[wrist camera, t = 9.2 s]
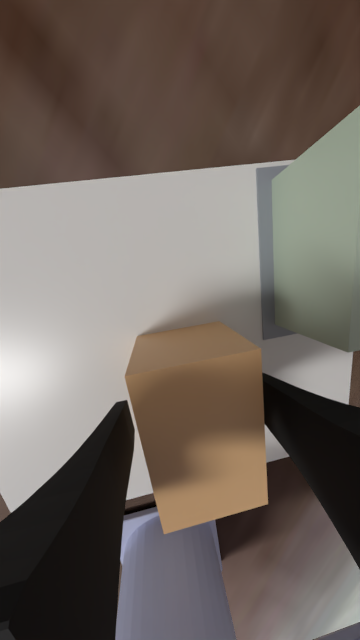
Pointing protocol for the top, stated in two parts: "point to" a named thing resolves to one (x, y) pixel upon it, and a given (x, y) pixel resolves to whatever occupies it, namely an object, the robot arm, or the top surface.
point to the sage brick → (320, 239)
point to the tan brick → (200, 422)
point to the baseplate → (131, 302)
